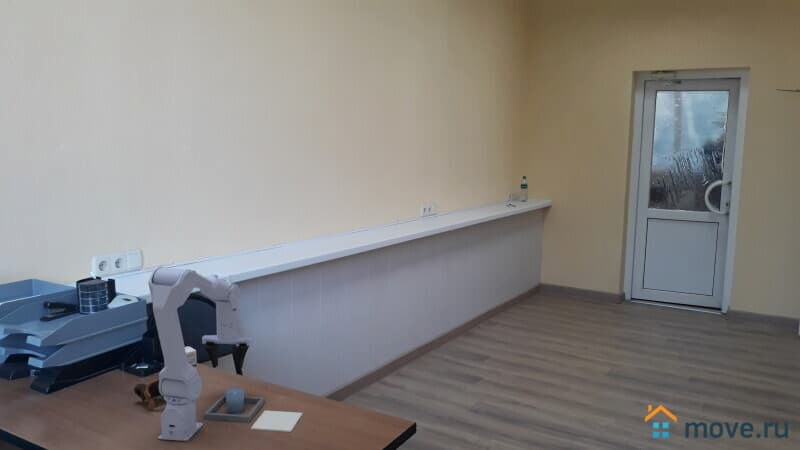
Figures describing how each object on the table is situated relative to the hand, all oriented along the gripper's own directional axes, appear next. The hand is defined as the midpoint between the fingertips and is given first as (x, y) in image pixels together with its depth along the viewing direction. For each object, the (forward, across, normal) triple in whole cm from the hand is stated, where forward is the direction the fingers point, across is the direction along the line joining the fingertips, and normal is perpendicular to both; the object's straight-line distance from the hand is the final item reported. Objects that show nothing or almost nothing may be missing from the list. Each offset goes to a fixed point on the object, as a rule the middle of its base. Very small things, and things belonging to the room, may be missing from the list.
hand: (227, 367), depth 186 cm
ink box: (+10, +18, -6) cm, 21 cm away
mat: (+10, -19, +13) cm, 25 cm away
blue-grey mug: (+10, -5, +8) cm, 13 cm away
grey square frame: (+10, -5, +8) cm, 13 cm away
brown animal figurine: (+10, +20, +6) cm, 23 cm away
